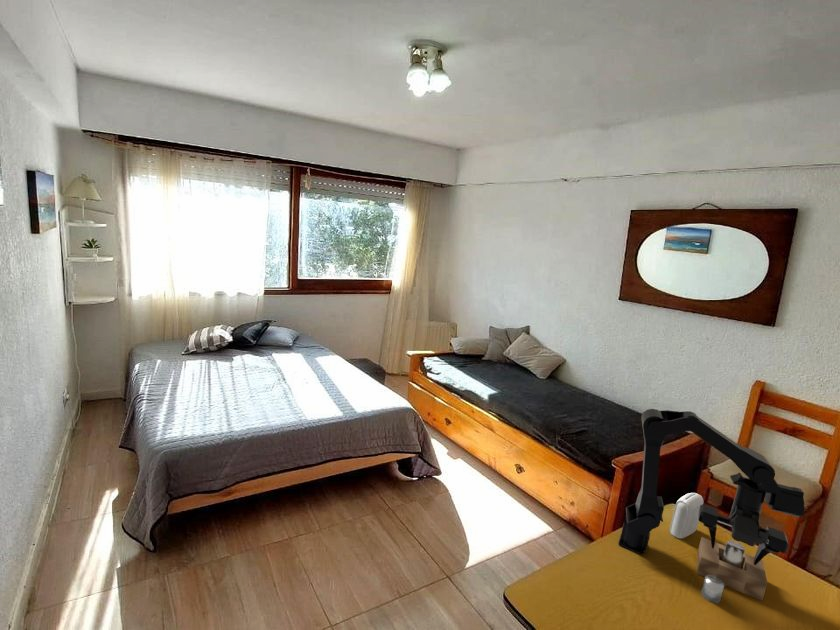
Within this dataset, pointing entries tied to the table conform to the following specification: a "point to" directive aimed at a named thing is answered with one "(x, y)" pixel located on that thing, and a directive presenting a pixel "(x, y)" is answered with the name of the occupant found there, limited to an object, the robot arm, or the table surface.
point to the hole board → (732, 570)
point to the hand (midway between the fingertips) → (733, 555)
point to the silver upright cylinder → (733, 553)
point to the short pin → (712, 588)
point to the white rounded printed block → (686, 515)
